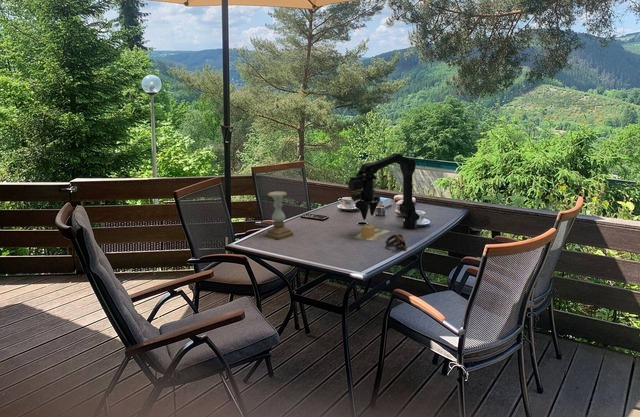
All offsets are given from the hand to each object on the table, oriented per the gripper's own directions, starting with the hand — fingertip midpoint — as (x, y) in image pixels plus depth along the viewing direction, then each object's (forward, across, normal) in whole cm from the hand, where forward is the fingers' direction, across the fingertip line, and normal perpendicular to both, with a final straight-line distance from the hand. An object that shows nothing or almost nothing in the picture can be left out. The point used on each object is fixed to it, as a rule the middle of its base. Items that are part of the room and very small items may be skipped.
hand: (368, 217), depth 254 cm
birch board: (+11, -3, +1) cm, 11 cm away
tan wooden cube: (+10, +2, 0) cm, 10 cm away
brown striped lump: (+11, +11, +20) cm, 26 cm away
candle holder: (+11, +18, -45) cm, 49 cm away
